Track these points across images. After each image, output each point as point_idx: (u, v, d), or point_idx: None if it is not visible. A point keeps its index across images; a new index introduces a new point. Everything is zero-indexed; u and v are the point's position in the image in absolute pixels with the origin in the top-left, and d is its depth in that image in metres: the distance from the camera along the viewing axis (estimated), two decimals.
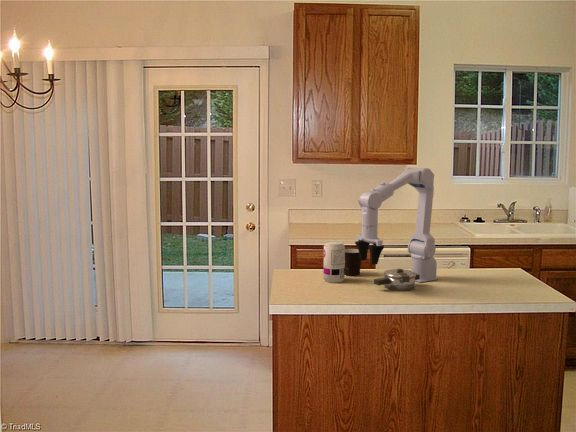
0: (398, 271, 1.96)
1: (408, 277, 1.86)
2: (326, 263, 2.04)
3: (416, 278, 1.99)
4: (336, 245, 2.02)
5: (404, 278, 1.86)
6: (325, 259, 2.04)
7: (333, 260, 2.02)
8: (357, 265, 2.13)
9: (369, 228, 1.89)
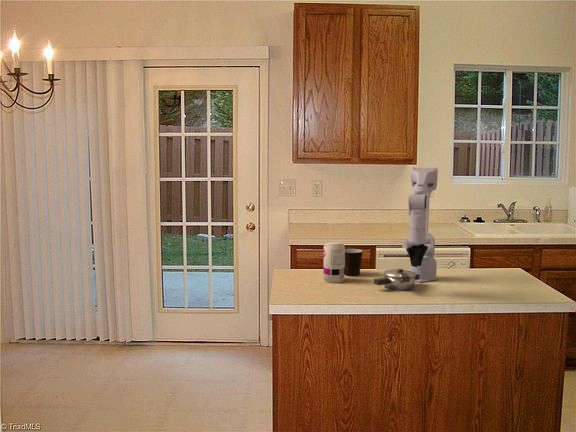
0: (398, 271, 1.96)
1: (408, 277, 1.86)
2: (326, 263, 2.04)
3: (416, 278, 1.99)
4: (336, 245, 2.02)
5: (404, 278, 1.86)
6: (325, 259, 2.04)
7: (333, 260, 2.02)
8: (357, 265, 2.13)
9: (409, 230, 1.86)
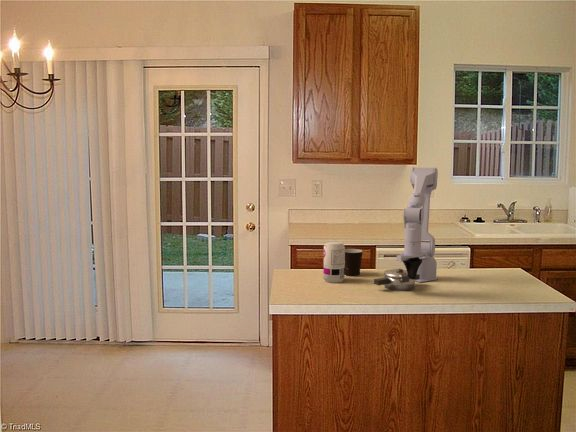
0: (398, 271, 1.96)
1: (408, 277, 1.86)
2: (326, 263, 2.04)
3: (416, 278, 1.99)
4: (336, 245, 2.02)
5: (404, 278, 1.86)
6: (325, 259, 2.04)
7: (333, 260, 2.02)
8: (357, 265, 2.13)
9: (405, 243, 1.87)
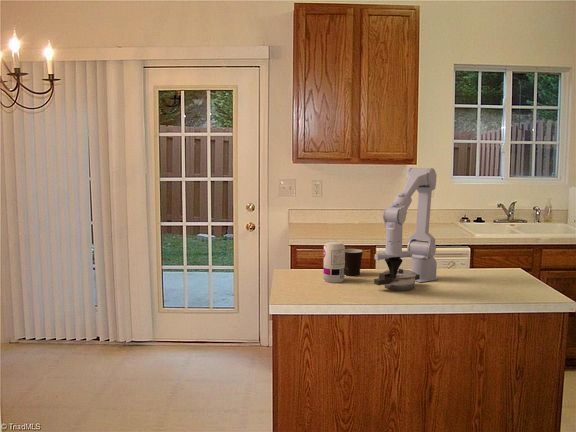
0: None
1: (383, 275, 1.89)
2: (326, 263, 2.04)
3: (416, 278, 1.99)
4: (336, 245, 2.02)
5: (380, 275, 1.90)
6: (325, 259, 2.04)
7: (333, 260, 2.02)
8: (357, 265, 2.13)
9: None
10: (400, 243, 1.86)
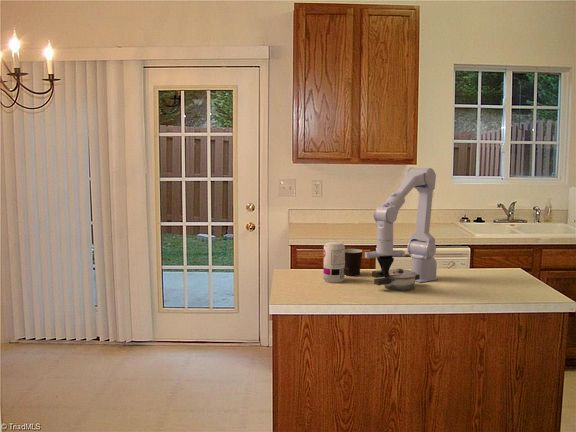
0: (396, 270, 1.97)
1: (375, 273, 1.92)
2: (326, 263, 2.04)
3: (416, 278, 1.99)
4: (336, 245, 2.02)
5: (373, 273, 1.93)
6: (325, 259, 2.04)
7: (333, 260, 2.02)
8: (357, 265, 2.13)
9: None
10: (390, 242, 1.88)
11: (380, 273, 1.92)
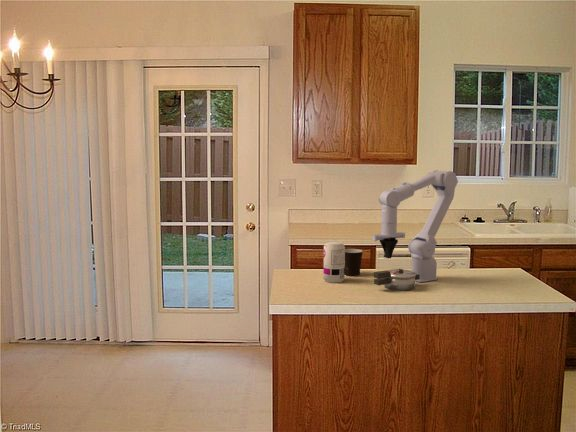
0: (396, 270, 1.97)
1: (377, 274, 1.91)
2: (326, 263, 2.04)
3: (416, 278, 1.99)
4: (336, 245, 2.02)
5: (375, 274, 1.92)
6: (325, 259, 2.04)
7: (333, 260, 2.02)
8: (357, 265, 2.13)
9: (381, 224, 2.01)
10: (395, 224, 1.99)
11: (382, 274, 1.91)
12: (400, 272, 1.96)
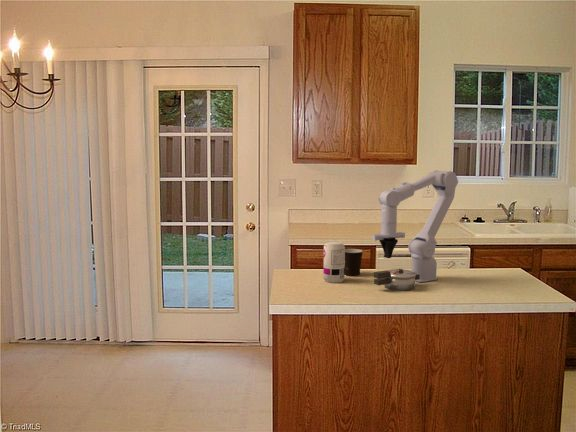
0: (396, 270, 1.97)
1: (377, 274, 1.91)
2: (326, 263, 2.04)
3: (416, 278, 1.99)
4: (336, 245, 2.02)
5: (375, 274, 1.92)
6: (325, 259, 2.04)
7: (333, 260, 2.02)
8: (357, 265, 2.13)
9: (381, 224, 2.01)
10: (395, 224, 1.99)
11: (382, 274, 1.91)
12: (400, 272, 1.96)
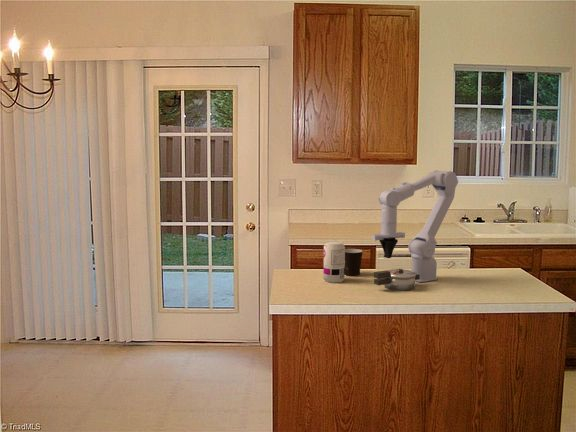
0: (396, 270, 1.97)
1: (377, 274, 1.91)
2: (326, 263, 2.04)
3: (416, 278, 1.99)
4: (336, 245, 2.02)
5: (375, 274, 1.92)
6: (325, 259, 2.04)
7: (333, 260, 2.02)
8: (357, 265, 2.13)
9: (381, 224, 2.01)
10: (395, 224, 1.99)
11: (382, 274, 1.91)
12: (400, 272, 1.96)
